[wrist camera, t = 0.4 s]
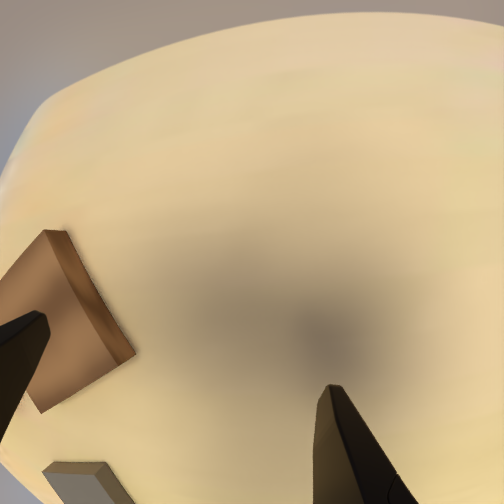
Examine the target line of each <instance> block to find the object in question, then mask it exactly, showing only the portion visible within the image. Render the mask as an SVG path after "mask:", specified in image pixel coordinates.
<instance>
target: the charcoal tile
mask: <svg viewBox="0 0 504 504" xmlns="http://www.w3.org/2000/svg"><path fill="white" fill-rule="evenodd" d="M42 473H43V474H44V476H45V477H46V479H47V480H48V482H49V483H50V485H51V486H52V488H53V489H54V490H55V492H56V493H57V495H58V496H59V497H60V499H61V500H62V501H63V503H64V504H134V502H133V501H132V500H131V498H130V497H129V496H128V494H127V493H126V491H125V490H124V489H123V487H122V486H121V484H120V483H119V481H118V480H117V479H116V477H115V476H114V474H113V473H112V471H111V470H110V468H109V466H108V465H107V463H106V462H96V463H67V462H53V463H52V464H50V465H49V466H48V467H47V468H46V469H44V470H43V471H42Z"/></svg>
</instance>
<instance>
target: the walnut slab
mask: <svg viewBox="0 0 504 504" xmlns="http://www.w3.org/2000/svg"><path fill="white" fill-rule="evenodd" d="M33 310H38V311H41V312H43V313H45V314H46V316H47V319H48V323H49V327H50V330H51V336H50V339H49V341H48V344H47V346H46V348H45V350H44V353H43V355H42V357H41V359H40V362H39V364H38V367H37V369H36V371H35V373H34V375H33V377H32V379H31V381H30V383H29V385H28V387H27V389H26V391H27V393H28V394H29V396H30V398H31V399H32V401H33V402H34V404H35V405H36V407H37V409H38V410H39V412H40V413H41V414H42V413H44V412H45V411H47V410H48V409H50V408H52V407H53V406H55V405H57V404H58V403H60V402H62V401H63V400H65V399H66V398H68V397H70V396H71V395H73V394H75V393H76V392H78V391H79V390H81V389H83V388H84V387H86V386H87V385H89V384H91V383H92V382H94V381H95V380H97V379H99V378H100V377H102V376H103V375H105V374H107V373H108V372H110V371H111V370H113V369H114V368H116V367H118V366H119V365H121V364H122V363H124V362H125V361H127V360H128V359H130V358H131V357H133V356H134V355H136V353H135V352H134V350H133V349H132V347H131V346H130V344H129V343H128V341H127V340H126V338H125V337H124V335H123V333H122V332H121V330H120V329H119V327H118V325H117V324H116V322H115V321H114V319H113V317H112V316H111V314H110V312H109V311H108V309H107V307H106V306H105V304H104V302H103V301H102V299H101V297H100V295H99V294H98V292H97V290H96V288H95V286H94V285H93V283H92V281H91V279H90V277H89V276H88V274H87V272H86V270H85V268H84V266H83V264H82V262H81V260H80V258H79V256H78V255H77V253H76V251H75V249H74V247H73V245H72V242H71V240H70V238H69V236H68V234H67V232H66V231H58V230H43V231H42V232H41V233H40V234H39V235H38V236H37V237H36V239H35V240H34V241H33V242H32V243H31V244H30V245H29V246H28V248H27V249H26V250H25V251H24V252H23V253H22V255H21V256H20V257H19V258H18V259H17V260H16V262H15V263H14V264H13V265H12V266H11V268H10V269H9V270H8V271H7V273H6V274H5V275H4V276H3V278H2V279H1V280H0V326H1V325H3V324H5V323H7V322H9V321H11V320H13V319H16V318H18V317H20V316H22V315H24V314H26V313H29V312H31V311H33Z"/></svg>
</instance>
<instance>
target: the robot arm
mask: <svg viewBox="0 0 504 504" xmlns="http://www.w3.org/2000/svg"><path fill="white" fill-rule="evenodd" d="M50 336H51V330H50V327H49V323H48V319H47V316H46V314H45V313H43V312H41V311H38V310H33V311H31V312H29V313H26V314H24V315H22V316H20V317H18V318H16V319H13V320H11V321H9V322H7V323H5V324H3V325H1V326H0V443H1V440H2V438H3V436H4V434H5V432H6V429H7V427H8V425H9V423H10V421H11V419H12V417H13V415H14V412H15V410H16V408H17V406H18V404H19V402H20V400H21V398H22V396H23V394H24V393H25V391H26V389H27V387H28V385H29V383H30V381H31V379H32V377H33V375H34V373H35V371H36V369H37V367H38V364H39V362H40V359H41V357H42V355H43V353H44V350H45V348H46V346H47V344H48V341H49V339H50ZM313 504H419V503H418V502H417V501H416V499H415V498H414V497H413V495H412V494H411V493H410V491H409V490H408V488H407V487H406V485H405V484H404V482H403V481H402V479H401V478H400V476H399V474H397V471H396V470H395V468H394V467H393V465H392V464H391V462H390V461H389V459H388V457H387V456H386V454H385V453H384V451H383V450H382V448H381V446H380V445H379V443H378V442H377V440H376V439H375V437H374V436H373V434H372V432H371V431H370V429H369V428H368V426H367V425H366V423H365V421H364V420H363V418H362V417H361V415H360V414H359V412H358V411H357V409H356V407H355V406H354V404H353V403H352V401H351V400H350V398H349V397H348V395H347V393H346V392H345V390H344V389H343V387H342V386H340V385H333V384H329V385H327V386H326V388H325V390H324V391H323V393H322V395H321V397H320V398H319V400H318V404H317V412H316V423H315V433H314V443H313Z"/></svg>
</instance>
